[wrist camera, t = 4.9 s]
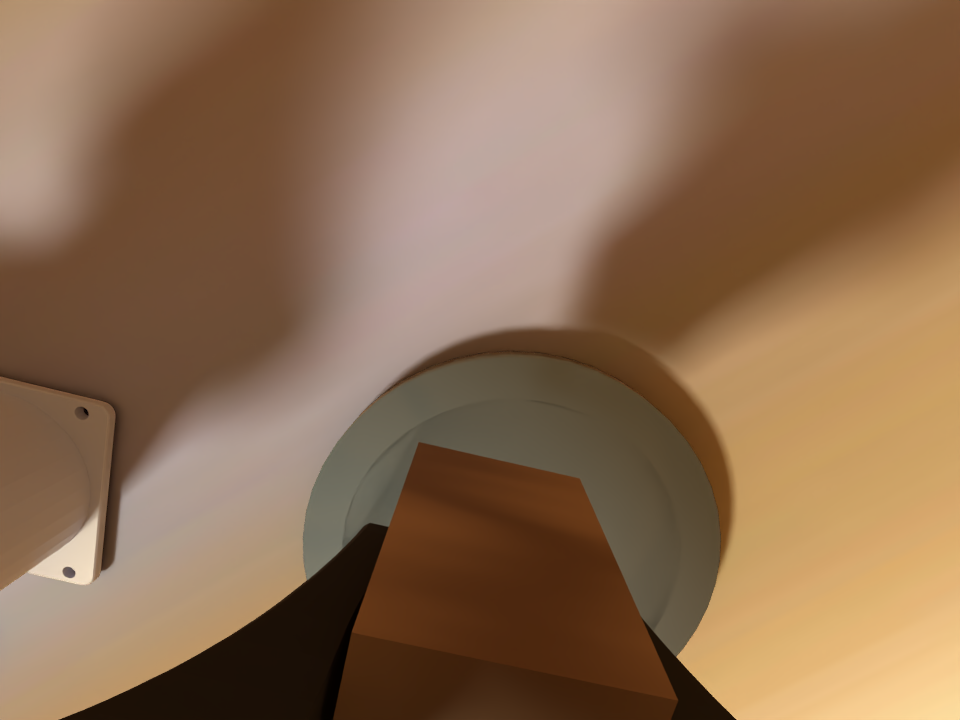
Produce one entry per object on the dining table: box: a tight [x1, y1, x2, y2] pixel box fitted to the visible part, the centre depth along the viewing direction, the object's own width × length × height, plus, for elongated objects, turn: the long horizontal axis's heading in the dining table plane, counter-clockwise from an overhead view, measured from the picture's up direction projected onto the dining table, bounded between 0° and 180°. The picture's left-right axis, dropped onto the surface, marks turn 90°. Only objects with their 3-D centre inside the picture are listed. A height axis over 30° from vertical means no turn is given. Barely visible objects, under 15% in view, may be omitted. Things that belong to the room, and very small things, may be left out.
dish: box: [303, 351, 721, 657], centre depth 19 cm, size 16×16×1 cm
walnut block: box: [333, 442, 678, 720], centre depth 9 cm, size 4×4×6 cm
